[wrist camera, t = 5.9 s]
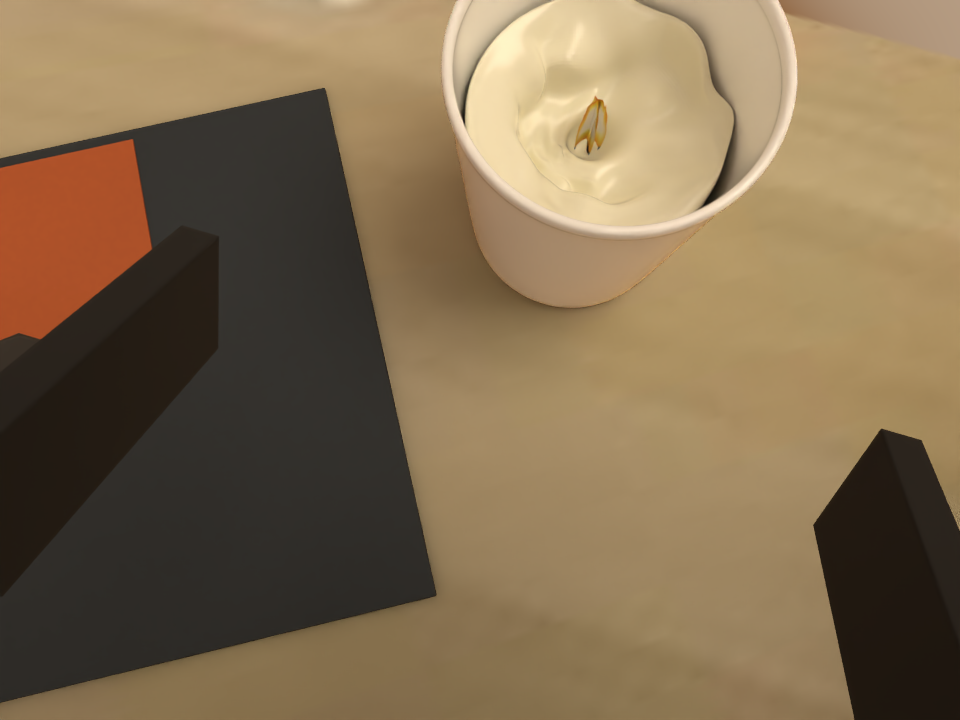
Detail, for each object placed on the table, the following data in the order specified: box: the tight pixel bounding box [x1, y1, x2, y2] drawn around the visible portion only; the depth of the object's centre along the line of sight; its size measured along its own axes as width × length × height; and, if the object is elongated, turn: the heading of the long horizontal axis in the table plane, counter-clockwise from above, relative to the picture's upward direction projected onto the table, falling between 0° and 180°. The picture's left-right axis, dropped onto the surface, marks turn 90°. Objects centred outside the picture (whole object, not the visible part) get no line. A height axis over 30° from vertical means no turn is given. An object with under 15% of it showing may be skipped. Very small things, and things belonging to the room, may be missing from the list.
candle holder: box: [441, 0, 798, 308], centre depth 27 cm, size 10×10×12 cm
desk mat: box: [0, 88, 436, 703], centre depth 31 cm, size 20×22×1 cm
